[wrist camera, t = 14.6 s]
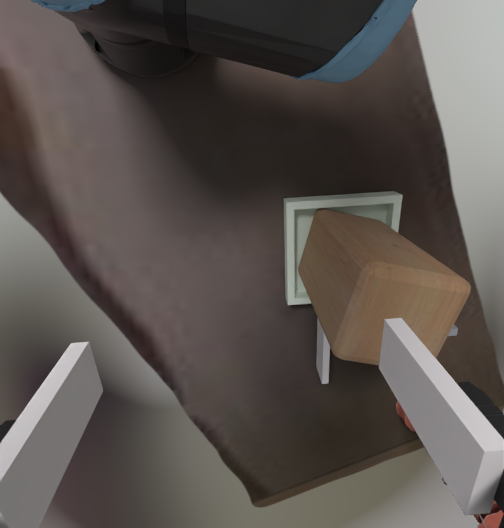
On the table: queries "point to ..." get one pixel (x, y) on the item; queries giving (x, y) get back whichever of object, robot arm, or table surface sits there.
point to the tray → (300, 221)
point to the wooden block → (375, 285)
